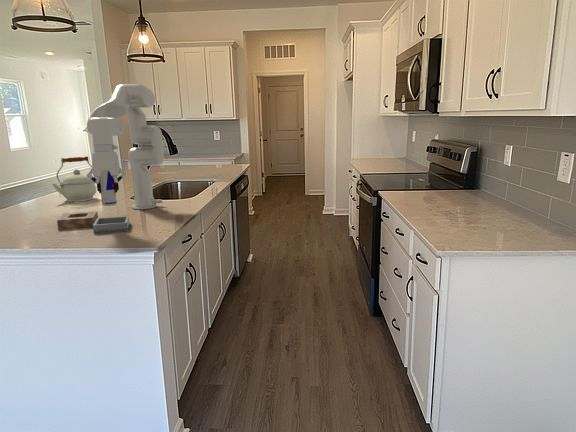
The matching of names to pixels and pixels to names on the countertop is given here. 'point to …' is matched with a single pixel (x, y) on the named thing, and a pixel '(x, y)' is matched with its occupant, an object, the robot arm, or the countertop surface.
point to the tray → (111, 224)
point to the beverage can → (107, 189)
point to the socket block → (77, 220)
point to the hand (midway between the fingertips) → (108, 192)
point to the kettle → (76, 183)
